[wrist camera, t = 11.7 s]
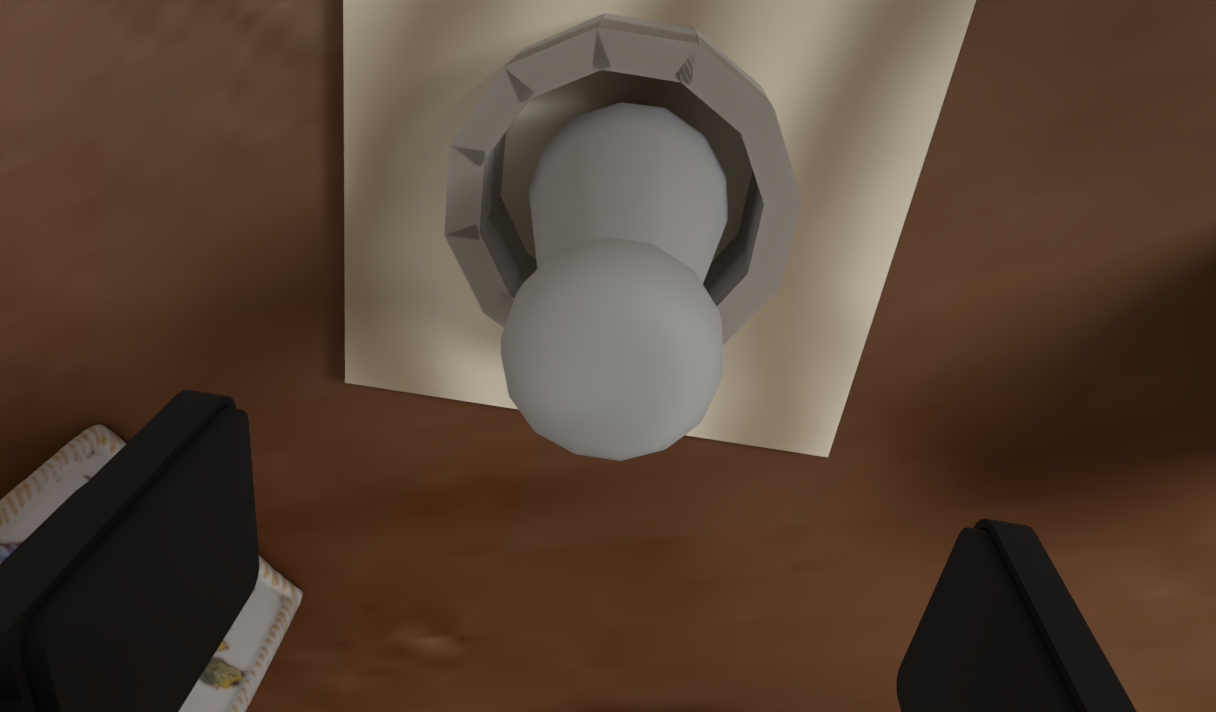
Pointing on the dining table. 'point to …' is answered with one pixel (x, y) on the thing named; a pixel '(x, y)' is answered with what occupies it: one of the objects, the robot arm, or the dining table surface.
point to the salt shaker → (619, 285)
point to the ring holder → (654, 76)
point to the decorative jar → (255, 631)
